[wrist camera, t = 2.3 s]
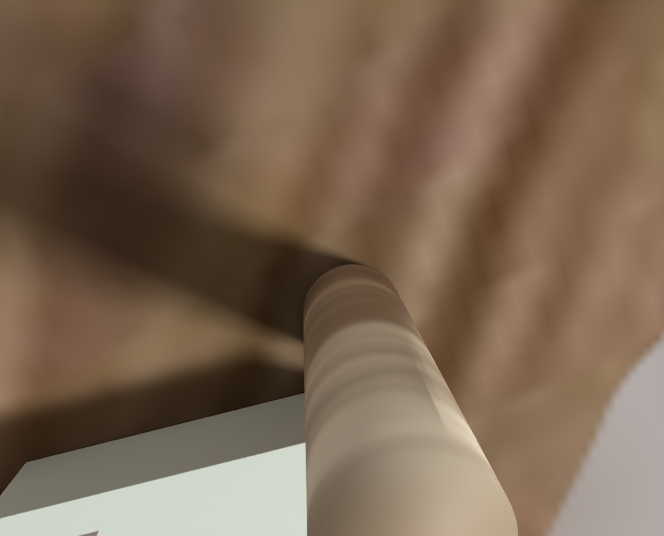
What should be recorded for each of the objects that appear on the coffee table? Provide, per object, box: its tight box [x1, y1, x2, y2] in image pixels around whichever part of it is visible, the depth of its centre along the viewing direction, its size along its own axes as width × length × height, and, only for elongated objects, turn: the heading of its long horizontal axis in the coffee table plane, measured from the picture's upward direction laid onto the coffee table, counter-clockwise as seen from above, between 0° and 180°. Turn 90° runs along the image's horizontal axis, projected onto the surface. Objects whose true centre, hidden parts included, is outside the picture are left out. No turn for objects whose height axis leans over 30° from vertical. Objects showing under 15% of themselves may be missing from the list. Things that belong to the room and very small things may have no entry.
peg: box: [303, 264, 518, 536], centre depth 18 cm, size 4×4×14 cm
